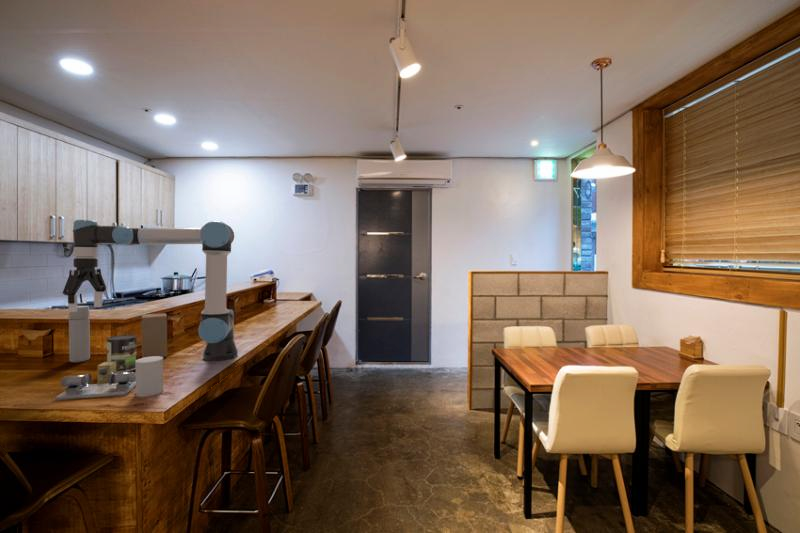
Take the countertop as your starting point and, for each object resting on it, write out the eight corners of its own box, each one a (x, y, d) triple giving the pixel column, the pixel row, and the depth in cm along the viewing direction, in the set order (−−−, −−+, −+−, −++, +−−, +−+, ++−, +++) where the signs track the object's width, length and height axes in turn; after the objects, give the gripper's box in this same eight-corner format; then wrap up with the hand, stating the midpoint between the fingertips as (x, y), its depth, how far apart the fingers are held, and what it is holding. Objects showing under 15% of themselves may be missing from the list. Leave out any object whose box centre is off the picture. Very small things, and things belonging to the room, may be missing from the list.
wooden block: (166, 352, 184) (165, 313, 183) (167, 356, 176) (167, 315, 175) (141, 355, 178) (141, 314, 177) (141, 360, 170) (141, 317, 169)
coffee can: (143, 367, 159) (142, 335, 159) (120, 374, 149) (120, 340, 149) (123, 365, 161) (123, 333, 161) (100, 372, 151) (100, 339, 151)
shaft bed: (139, 384, 138) (139, 366, 138) (126, 394, 128) (126, 375, 128) (73, 388, 133) (73, 370, 133) (54, 400, 122) (53, 380, 122)
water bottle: (92, 360, 167) (91, 306, 167) (69, 364, 162) (68, 308, 161) (89, 356, 174) (88, 304, 173) (67, 360, 168) (66, 306, 167)
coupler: (104, 379, 143) (104, 361, 143) (116, 378, 144) (116, 361, 144) (97, 384, 138) (97, 365, 138) (109, 383, 139) (109, 365, 139)
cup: (166, 392, 131) (166, 359, 130) (139, 398, 125) (138, 364, 124) (159, 386, 136) (159, 354, 136) (133, 392, 130) (132, 359, 130)
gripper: (97, 257, 161) (98, 305, 162) (49, 257, 136) (50, 313, 137) (116, 257, 162) (116, 305, 162) (71, 258, 137) (71, 313, 138)
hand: (86, 309), depth 150 cm, fingers open, 13 cm apart
